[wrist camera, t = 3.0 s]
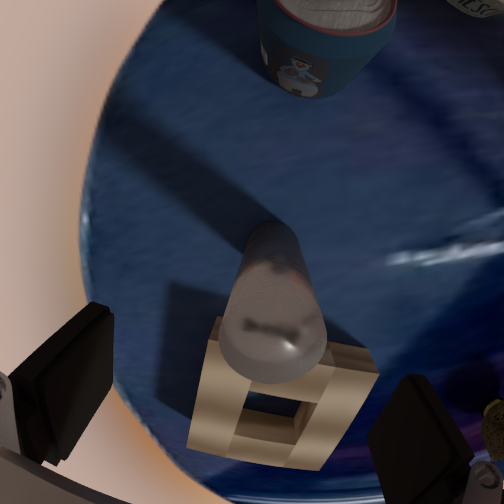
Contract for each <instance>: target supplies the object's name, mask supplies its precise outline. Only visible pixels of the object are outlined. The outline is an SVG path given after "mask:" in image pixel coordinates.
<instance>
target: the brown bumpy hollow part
mask: <svg viewBox="0 0 504 504" xmlns="http://www.w3.org/2000/svg"><path fill="white" fill-rule="evenodd" d="M481 414H482V418H484V419H483V421H482V425H481V433H482V437H483V440H484V443H485V445H486V448H487V450H488V453H489V455H490V458H491V461H492V462H493V459H494V461H495V462H497V458H498V459H499V460H500V461H502V460H503V458H504V400H503V398H502V397H499V396H495V397H493V398H491V399H490V400H488V401H487V402H486V404H485V405H484V406H483V408H482V411H481Z"/></svg>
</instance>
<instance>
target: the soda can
mask: <svg viewBox="0 0 504 504" xmlns="http://www.w3.org/2000/svg"><path fill="white" fill-rule="evenodd" d="M256 1H257V11H258V21H259V31H260V41H261V52H262V61H263V65H264V67H265V70H266V72H267V74H268V75H269V77H270V78H271V79H272V80H273V81H274V82H275V83H276V84H277V85H278V86H279V87H280V88H282V89H283V90H285V91H287V92H289V93H291V94H293V95H296V96H299V97H304V98H323V97H328V96H331V95H333V94H335V93H337V92H339V91H340V90H342V89H343V88H344V87H345V86H346V85H347V84H348V83H349V82H350V81H351V80H352V79H353V78H354V77H355V76H356V75H357V73H358V72H359V71H360V70H361V69H362V68H363V67H364V66H365V65H366V64H367V63H368V62H369V61H370V60H371V59H372V58H373V57H374V56H375V55H376V54H377V53H378V52H379V51H380V50H381V49H382V48H383V47H384V45H385V44H386V43H387V42H388V41H389V40H390V38H391V37H392V35H393V33H394V30H395V27H396V21H397V14H396V7H397V0H256Z"/></svg>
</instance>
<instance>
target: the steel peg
mask: <svg viewBox="0 0 504 504" xmlns="http://www.w3.org/2000/svg"><path fill="white" fill-rule="evenodd" d="M218 342H219V348H220V351H221V353H222V356H223V358H224V359H225V361H226V362H227V364H228V365H229V366H230V367H231V368H232V369H233V370H234V371H235V372H237V373H238V374H240V375H241V376H243V377H245V378H247V379H249V380H252V381H255V382H259V383H265V384H280V383H286V382H290V381H293V380H295V379H298V378H300V377H302V376H304V375H305V374H307V373H308V372H309V371H311V370H312V369H313V368H314V367H315V366H316V365H317V364H318V362H319V361H320V359H321V358H322V356H323V354H324V351H325V348H326V344H327V332H326V327H325V324H324V320H323V317H322V314H321V311H320V307H319V304H318V301H317V298H316V295H315V291H314V288H313V285H312V282H311V279H310V276H309V273H308V270H307V267H306V264H305V260H304V257H303V254H302V251H301V248H300V245H299V242H298V240H297V237H296V235H295V233H294V232H293V231H292V229H290V228H289V227H288V226H286V225H285V224H282V223H279V222H267V223H264V224H261V225H260V226H258V227H257V228H256V229H254V231H253V232H252V233H251V235H250V237H249V239H248V243H247V246H246V249H245V252H244V255H243V258H242V261H241V264H240V267H239V270H238V273H237V276H236V279H235V282H234V286H233V289H232V292H231V295H230V298H229V301H228V304H227V307H226V310H225V313H224V316H223V320H222V323H221V326H220V329H219V335H218Z"/></svg>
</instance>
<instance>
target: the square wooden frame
mask: <svg viewBox="0 0 504 504" xmlns="http://www.w3.org/2000/svg"><path fill="white" fill-rule="evenodd" d="M222 320H223V317H221V316H218V315H217V318H216V321H215V323H214V326H213V329H212V332H211V334H210V337H209V341H208V345H207V350H206V354H205V359H204V364H203V368H202V373H201V378H200V383H199V387H198V392H197V397H196V402H195V407H194V412H193V417H192V422H191V427H190V432H189V437H188V442H187V447H186V448H190V449H194V450H198V451H201V452H205V453H210V454H214V455H218V456H223V457H227V458H232V459H237V460H242V461H248V462H253V463H259V464H265V465H272V466H279V467H287V468H295V469H305V470H317V471H319V470H320V468H321V467H322V465H323V464H324V463H325V461H326V460H327V458H328V457H329V456H330V454H331V453H332V451H333V450H334V448H335V447H336V445H337V444H338V442H339V441H340V439H341V438H342V436H343V435H344V433H345V432H346V430H347V429H348V427H349V426H350V424H351V422H352V421H353V419H354V418H355V416H356V414H357V413H358V411H359V409H360V408H361V406H362V404H363V403H364V401H365V399H366V397H367V396H368V394H369V392H370V390H371V389H372V387H373V385H374V383H375V381H376V379H377V378H378V376H379V372H378V370H377V368H376V365H375V363H374V361H373V359H372V357H371V355H370V352H369V350H368V349H366V348H361V347H355V346H350V345H345V344H340V343H334V342H329V341H327V344H326V348H325V351H324V354H323V356H322V358H321V359H320V361H319V362H318V364H317V365H316V366H315V367H314V368H313V369H312V370H311V371H309V372H308V373H307V374H305V375H304V376H302V377H300V378H298V379H295V380H293V381H290V382H286V383H280V384H265V383H259V382H255V381H252V380H249V379H247V378H245V377H243V376H241V375H240V374H238V373H237V372H235V371H234V370H233V369H232V368H231V367H230V366H229V365H228V364H227V362H226V361H225V359H224V358H223V356H222V353H221V351H220V348H219V342H218V335H219V329H220V326H221V323H222ZM248 390H249V391H253V392H258V393H263V394H268V395H273V396H278V397H283V398H289V399H294V400H300V401H302V402H301V404H300V406H299V408H298V410H297V412H296V414H295V417H294V418H292V417H286V416H280V415H274V414H269V413H264V412H259V411H254V410H249V409H244V408H243V405H244V402H245V399H246V396H247V393H248Z"/></svg>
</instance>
